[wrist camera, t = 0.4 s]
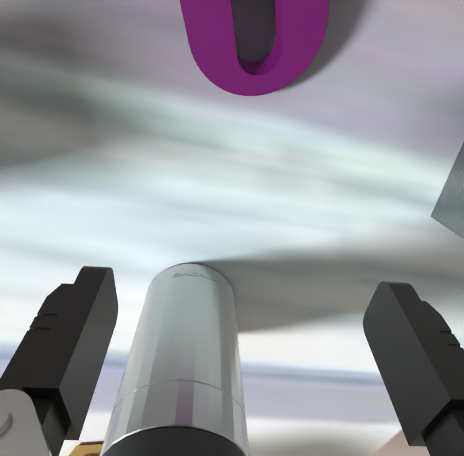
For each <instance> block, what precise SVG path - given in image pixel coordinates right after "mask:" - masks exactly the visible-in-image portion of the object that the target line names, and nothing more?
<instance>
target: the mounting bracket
mask: <svg viewBox="0 0 464 456" xmlns="http://www.w3.org/2000/svg"><path fill="white" fill-rule="evenodd" d="M180 3H181V8H182V13H183V17H184V22H185V27H186V31H187V36H188V41H189V45H190V49H191V52H192V55H193V57H194V59H195V61H196V63H197V65H198V67H199V68H200V70H201V71H202V72H203V74H204V75H205V76H206V77H207V78H208V79H209V80H210V81H211V82H212V83H214V84H215V85H216V86H218V87H220V88H221V89H223V90H225V91H227V92H230V93H233V94H237V95H243V96H258V95H264V94H268V93H271V92H274V91H276V90H279V89H281V88H283V87H285V86H286V85H288V84H289V83H291V82H292V81H293V80H295V79H296V78H297V77H298V76H299V75H300V74H302V72H303V71H304V70H305V69H306V68H307V67H308V66H309V64H310V63H311V62H312V60H313V59H314V57H315V55H316V53H317V52H318V50H319V48H320V45H321V43H322V40H323V37H324V34H325V30H326V26H327V18H328V7H329V0H275V23H276V41H275V45H274V48H273V50H272V52H271V53H270V54H269V55H268V56H267V57H266V58H265V59H263V60H261V61H259V62H246V61H244V60H242V59H241V58H240V57H239V56H238V55H237V52H236V43H235V34H234V25H233V16H232V7H231V0H180Z"/></svg>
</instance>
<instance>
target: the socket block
mask: <svg viewBox="0 0 464 456" xmlns="http://www.w3.org/2000/svg"><path fill="white" fill-rule="evenodd" d="M431 217H432V218H434V219H435V220H437V221H438V222H440V223H441V224H443V225H444V226H446V227H447V228H449V229H450V230H452V231H453V232H454V233H456V234H457V235H459V236H460V237H462V238H463V239H464V143H463V145H462V148H461V150H460V152H459V154H458V156H457V159H456V161H455V163H454V165H453V168H452V170H451V172H450V174H449V177H448V179H447V181H446V183H445V186H444V188H443V190H442V192H441V195H440V197H439V199H438V201H437V204H436V206H435V208H434V210H433V213H432V215H431Z"/></svg>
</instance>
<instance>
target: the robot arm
mask: <svg viewBox="0 0 464 456" xmlns="http://www.w3.org/2000/svg"><path fill="white" fill-rule="evenodd" d="M37 314H38V315H37V317H35V319H34V320H33V322H32V324H31V326H30V330H29V331H27V333H26V334H25V336H24V338H23V340H22V341H21V343H20V345H19V347H18V348H17V350H16V352H15V354H14V356H13V357H12V359H11V361H10V363H9V364H8V366H7V368H6V370H5V371H4V373H3V375H2V377H1V378H0V456H59V453H60V450H61V447H62V445H63V442H64V440H79V437H80V434H81V431H82V428H83V424H84V421H85V418H86V415H87V412H88V409H89V406H90V403H91V400H92V396H93V393H94V390H95V387H96V384H97V381H98V378H99V375H100V371H101V368H102V365H103V362H104V359H105V356H106V353H107V350H108V347H109V343H110V340H111V337H112V334H113V331H114V328H115V325H116V321H117V315H118V300H117V294H116V287H115V281H114V274H113V270H112V268H109V267H91V266H84V267H83V268H82V269H81V270H80V272H79V274H78V276H77V278H76V280H75V282H74V284H61V285H60V286H59V287H58V288H57V289H55V290H54V291H53V292H52V293H51V294H50V295H48V296H47V297H46V299H45V301H44V303H43V304H42V306H41V308H40V310H39V311H38V313H37ZM363 328H364V333H365V336H366V338H367V341H368V343H369V346H370V348H371V351H372V354H373V356H374V359H375V361H376V364H377V366H378V369H379V371H380V374H381V376H382V379H383V381H384V384H385V386H386V389H387V391H388V394H389V396H390V399H391V401H392V404H393V406H394V409H395V411H396V414H397V417H398V419H399V422H400V424H401V427H402V429H403V432H404V434H405V436H406V439H407V442H408V444H409V446H426V447H427V449H428V451H429V454H430V456H464V349H463V348H461V347H460V343H459V342H458V340H457V339H456V337H455V336H454V334H452V333H451V332H452V331H451V329H450V328H449V326H448V325H447V323H446V322H445V320H444V319H443V317H442V316H441V315H440V314H439V313H438V312H437V311H436V310H435V309H434V308H433V307H432V306H431V305H429V304H428V303H427V302H426V301H421V300H420V298H419V297H418V295H417V293H416V292H415V290H414V289H413V287H412V286H411V285H410V284H408V283H398V282H381V283H380V284H379V285H378V287H377V289H376V291H375V293H374V295H373V297H372V300H371V302H370V304H369V306H368V308H367V310H366V312H365V315H364V319H363ZM100 456H250V455H249V445H248V435H247V424H246V416H245V406H244V395H243V385H242V374H241V364H240V354H239V343H238V333H237V321H236V311H235V300H234V293H233V290H232V287H231V285H230V284H229V282H228V281H227V279H226V278H225V277H224V276H223V275H222V274H220V273H219V272H217V271H216V270H214V269H212V268H209V267H207V266H204V265H199V264H181V265H176V266H173V267H170V268H168V269H166V270H165V271H163V272H161V273H160V274H159V275H158V276H157V277H156V278H155V279H154V280H153V281H152V283H151V284H150V286H149V289H148V292H147V295H146V299H145V302H144V305H143V309H142V312H141V315H140V318H139V322H138V325H137V329H136V332H135V336H134V339H133V342H132V346H131V349H130V353H129V356H128V360H127V363H126V366H125V370H124V373H123V377H122V380H121V384H120V387H119V390H118V394H117V397H116V401H115V404H114V408H113V411H112V415H111V419H110V422H109V426H108V429H107V433H106V436H105V439H104V443H103V446H102V450H101V453H100Z"/></svg>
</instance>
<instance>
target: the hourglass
mask: <svg viewBox="0 0 464 456" xmlns="http://www.w3.org/2000/svg"><path fill="white" fill-rule="evenodd" d="M102 446H103V444H95V445H81V446H76V447H75V449H74V450H73V451H72V453H71V454H70V455H69V456H100V453H101V450H102Z"/></svg>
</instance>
